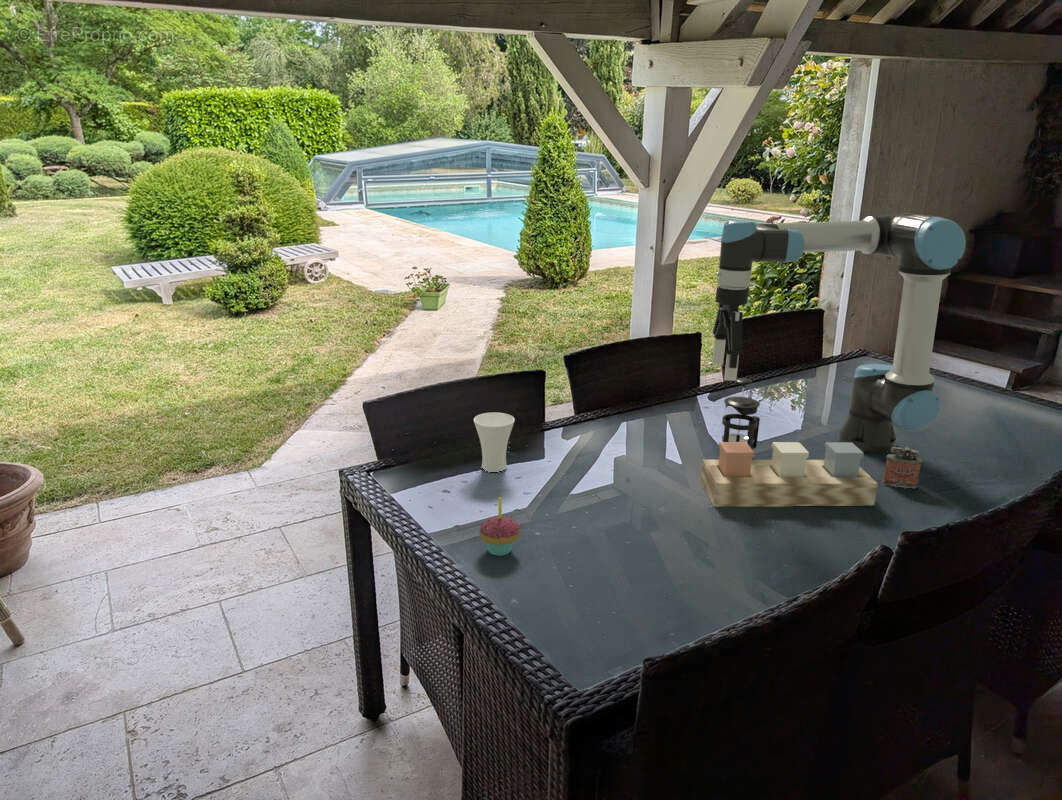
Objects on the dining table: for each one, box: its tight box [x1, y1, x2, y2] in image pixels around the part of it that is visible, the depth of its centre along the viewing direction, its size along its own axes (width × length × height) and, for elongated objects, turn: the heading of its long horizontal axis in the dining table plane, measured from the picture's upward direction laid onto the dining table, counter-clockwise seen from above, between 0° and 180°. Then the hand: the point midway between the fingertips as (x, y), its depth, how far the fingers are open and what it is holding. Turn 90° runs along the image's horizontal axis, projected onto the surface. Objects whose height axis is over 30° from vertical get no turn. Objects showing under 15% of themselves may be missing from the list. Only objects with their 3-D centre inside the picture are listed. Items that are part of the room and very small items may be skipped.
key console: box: [699, 459, 879, 508], centre depth 187 cm, size 38×14×6 cm, turn 92°
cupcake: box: [479, 493, 522, 557], centre depth 158 cm, size 9×8×12 cm
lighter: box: [881, 446, 923, 487], centre depth 192 cm, size 8×3×10 cm, turn 71°
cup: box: [473, 411, 516, 473], centre depth 197 cm, size 10×10×14 cm
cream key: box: [771, 441, 810, 477], centre depth 185 cm, size 7×7×6 cm
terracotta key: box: [718, 441, 755, 477], centre depth 184 cm, size 7×7×6 cm
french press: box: [717, 377, 761, 460], centre depth 203 cm, size 12×9×23 cm
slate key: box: [823, 441, 865, 477], centre depth 185 cm, size 7×7×6 cm
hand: (723, 372), depth 190 cm, fingers open, 13 cm apart
